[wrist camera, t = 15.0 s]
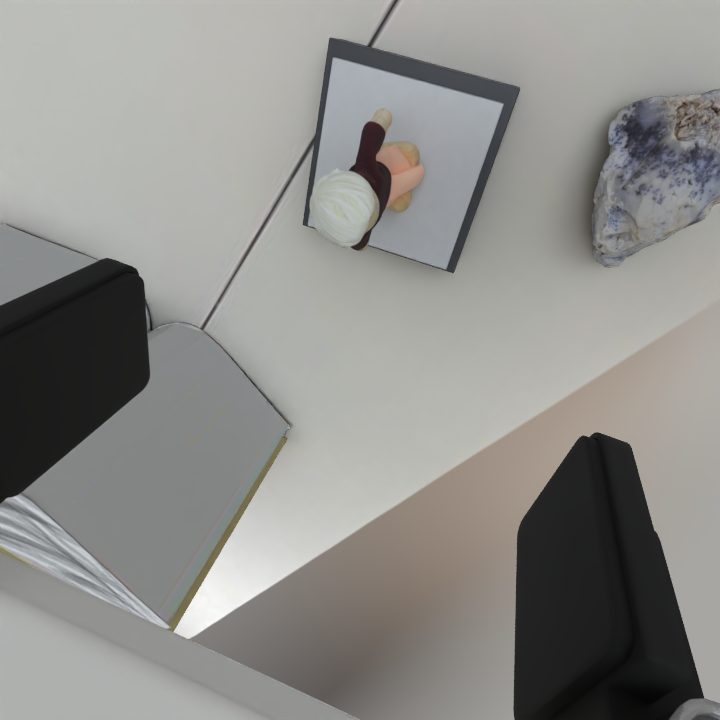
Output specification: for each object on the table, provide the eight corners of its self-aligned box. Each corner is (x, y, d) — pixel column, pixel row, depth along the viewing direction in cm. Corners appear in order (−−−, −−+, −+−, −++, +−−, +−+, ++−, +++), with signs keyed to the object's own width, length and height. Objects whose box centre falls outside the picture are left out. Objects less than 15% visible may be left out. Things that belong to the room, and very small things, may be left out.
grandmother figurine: (423, 227, 32) (378, 303, 22) (370, 224, 33) (303, 295, 23) (430, 101, 28) (378, 121, 18) (369, 101, 29) (287, 120, 19)
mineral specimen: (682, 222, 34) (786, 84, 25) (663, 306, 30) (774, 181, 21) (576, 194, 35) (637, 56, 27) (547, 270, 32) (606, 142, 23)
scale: (520, 87, 29) (520, 89, 27) (457, 261, 36) (452, 276, 33) (341, 39, 30) (325, 37, 28) (314, 216, 37) (299, 227, 35)
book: (-2, 251, 49) (-371, 341, 27) (14, 188, 45) (-393, 235, 24) (279, 448, 53) (152, 663, 31) (315, 404, 49) (199, 613, 28)
